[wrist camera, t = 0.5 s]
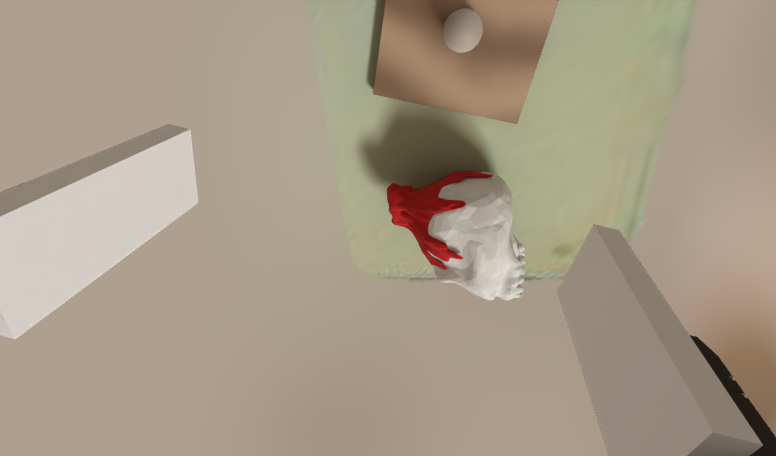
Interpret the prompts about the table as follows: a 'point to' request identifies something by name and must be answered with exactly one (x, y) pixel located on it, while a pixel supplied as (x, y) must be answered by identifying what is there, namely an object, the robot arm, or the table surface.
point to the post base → (462, 53)
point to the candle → (465, 231)
